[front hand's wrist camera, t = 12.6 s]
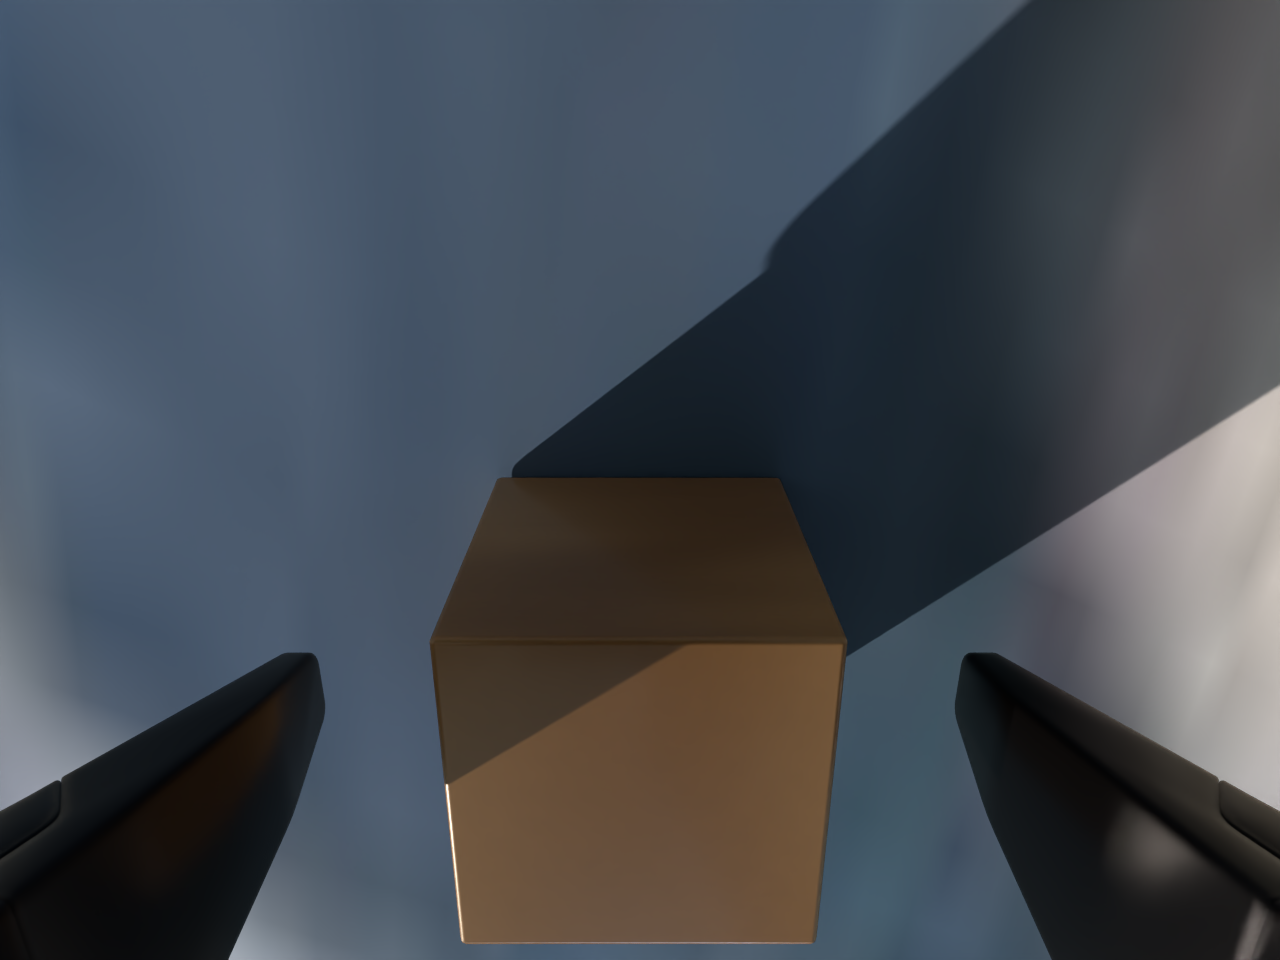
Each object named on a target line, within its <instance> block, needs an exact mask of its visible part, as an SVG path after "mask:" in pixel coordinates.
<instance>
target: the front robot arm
mask: <svg viewBox="0 0 1280 960" xmlns="http://www.w3.org/2000/svg"><path fill="white" fill-rule="evenodd" d="M324 715H325V700H324V694H323V688H322V681H321V675H320V669H319V664H318V660H317V658H316V656H315V655H314V654H312V653H284V654H281V655H280V656H278V657H276V658H274V659H272V660H271V661H269V662H267V663H265V664H264V665H262V666H260V667H258V668H256V669H255V670H253V671H251V672H249V673H247V674H246V675H244V676H242V677H240V678H239V679H237V680H235V681H233V682H231V683H230V684H228V685H226V686H224V687H222V688H221V689H219V690H217V691H215V692H214V693H212V694H210V695H208V696H206V697H205V698H203V699H201V700H199V701H197V702H196V703H194V704H192V705H190V706H189V707H187V708H185V709H183V710H181V711H180V712H178V713H176V714H174V715H172V716H171V717H169V718H167V719H165V720H164V721H162V722H160V723H158V724H156V725H155V726H153V727H151V728H149V729H147V730H146V731H144V732H142V733H140V734H139V735H137V736H135V737H133V738H131V739H130V740H128V741H126V742H124V743H122V744H121V745H119V746H117V747H115V748H114V749H112V750H110V751H108V752H106V753H105V754H103V755H101V756H99V757H97V758H96V759H94V760H92V761H90V762H89V763H87V764H85V765H83V766H81V767H80V768H78V769H76V770H74V771H72V772H71V773H69V774H67V775H65V776H64V777H62V779H61V782H60V781H54V782H53V783H51V784H49V785H47V786H45V787H44V788H42V789H40V790H38V791H37V792H35V793H33V794H31V795H30V796H28V797H26V798H24V799H22V800H20V801H18V802H17V803H15V804H13V805H11V806H9V807H7V808H5V809H4V810H2V811H0V960H228V959H229V957H230V954H231V952H232V950H233V948H234V946H235V943H236V941H237V939H238V937H239V934H240V932H241V930H242V928H243V926H244V923H245V921H246V919H247V917H248V915H249V912H250V910H251V908H252V906H253V903H254V901H255V899H256V897H257V895H258V892H259V890H260V888H261V886H262V884H263V881H264V879H265V877H266V875H267V872H268V870H269V868H270V866H271V864H272V861H273V859H274V857H275V855H276V852H277V850H278V848H279V846H280V844H281V841H282V839H283V837H284V835H285V833H286V830H287V828H288V825H289V823H290V821H291V818H292V816H293V813H294V810H295V807H296V805H297V802H298V799H299V796H300V792H301V789H302V786H303V783H304V780H305V777H306V774H307V770H308V767H309V764H310V761H311V758H312V755H313V751H314V748H315V745H316V742H317V739H318V736H319V733H320V729H321V726H322V723H323V720H324ZM955 715H956V720H957V723H958V726H959V729H960V733H961V736H962V739H963V742H964V745H965V748H966V751H967V755H968V758H969V761H970V764H971V767H972V770H973V774H974V777H975V780H976V783H977V786H978V789H979V792H980V796H981V799H982V802H983V805H984V807H985V810H986V813H987V816H988V818H989V821H990V823H991V825H992V828H993V830H994V833H995V835H996V837H997V839H998V841H999V844H1000V846H1001V848H1002V850H1003V852H1004V855H1005V857H1006V859H1007V861H1008V864H1009V866H1010V868H1011V870H1012V872H1013V875H1014V877H1015V879H1016V881H1017V884H1018V886H1019V888H1020V890H1021V892H1022V895H1023V897H1024V899H1025V901H1026V903H1027V906H1028V908H1029V910H1030V912H1031V915H1032V917H1033V919H1034V921H1035V923H1036V926H1037V928H1038V930H1039V932H1040V934H1041V937H1042V939H1043V941H1044V943H1045V946H1046V948H1047V950H1048V952H1049V954H1050V957H1051V959H1052V960H1280V811H1278V810H1276V809H1275V808H1273V807H1271V806H1269V805H1267V804H1265V803H1263V802H1262V801H1260V800H1258V799H1256V798H1254V797H1252V796H1250V795H1249V794H1247V793H1245V792H1243V791H1242V790H1240V789H1238V788H1236V787H1235V786H1233V785H1231V784H1229V783H1227V782H1226V781H1220V782H1219V779H1218V777H1216V776H1215V775H1213V774H1211V773H1209V772H1208V771H1206V770H1204V769H1202V768H1200V767H1199V766H1197V765H1195V764H1193V763H1191V762H1190V761H1188V760H1186V759H1184V758H1183V757H1181V756H1179V755H1177V754H1175V753H1174V752H1172V751H1170V750H1168V749H1166V748H1165V747H1163V746H1161V745H1159V744H1158V743H1156V742H1154V741H1152V740H1150V739H1149V738H1147V737H1145V736H1143V735H1141V734H1140V733H1138V732H1136V731H1134V730H1133V729H1131V728H1129V727H1127V726H1125V725H1124V724H1122V723H1120V722H1118V721H1116V720H1115V719H1113V718H1111V717H1109V716H1108V715H1106V714H1104V713H1102V712H1100V711H1099V710H1097V709H1095V708H1093V707H1091V706H1090V705H1088V704H1086V703H1084V702H1083V701H1081V700H1079V699H1077V698H1075V697H1074V696H1072V695H1070V694H1068V693H1066V692H1065V691H1063V690H1061V689H1059V688H1058V687H1056V686H1054V685H1052V684H1050V683H1049V682H1047V681H1045V680H1043V679H1041V678H1040V677H1038V676H1036V675H1034V674H1033V673H1031V672H1029V671H1027V670H1025V669H1024V668H1022V667H1020V666H1018V665H1016V664H1015V663H1013V662H1011V661H1009V660H1008V659H1006V658H1004V657H1002V656H1000V655H999V654H996V653H968V654H966V655H965V656H964V658H963V660H962V664H961V669H960V675H959V681H958V688H957V694H956V700H955Z"/></svg>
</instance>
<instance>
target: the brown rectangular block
mask: <svg viewBox="0 0 1280 960" xmlns="http://www.w3.org/2000/svg"><path fill="white" fill-rule="evenodd" d="M430 650H431V660H432V669H433V679H434V688H435V698H436V707H437V717H438V727H439V736H440V746H441V755H442V765H443V774H444V784H445V793H446V803H447V812H448V822H449V831H450V841H451V850H452V860H453V869H454V879H455V889H456V898H457V908H458V917H459V927H460V936H461V940H462V942H463V943H466V944H811V943H814V942H815V940H816V937H817V927H818V918H819V908H820V899H821V889H822V880H823V870H824V861H825V851H826V842H827V832H828V823H829V813H830V804H831V794H832V785H833V775H834V766H835V756H836V747H837V737H838V728H839V718H840V709H841V699H842V689H843V680H844V670H845V661H846V651H847V639H846V636H845V634H844V631H843V629H842V627H841V624H840V622H839V619H838V617H837V615H836V612H835V610H834V607H833V605H832V603H831V600H830V598H829V595H828V593H827V591H826V588H825V586H824V584H823V581H822V579H821V576H820V574H819V572H818V569H817V567H816V564H815V562H814V560H813V557H812V555H811V552H810V550H809V548H808V545H807V543H806V540H805V538H804V536H803V533H802V531H801V528H800V526H799V524H798V521H797V519H796V516H795V514H794V512H793V509H792V507H791V504H790V502H789V500H788V497H787V495H786V492H785V490H784V488H783V485H782V483H781V480H780V479H778V478H499V479H497V481H496V484H495V486H494V489H493V491H492V493H491V496H490V498H489V501H488V503H487V505H486V508H485V510H484V512H483V515H482V517H481V520H480V522H479V524H478V527H477V529H476V532H475V534H474V536H473V539H472V541H471V543H470V546H469V548H468V551H467V553H466V555H465V558H464V560H463V563H462V565H461V567H460V570H459V572H458V575H457V577H456V579H455V582H454V584H453V586H452V589H451V591H450V594H449V596H448V598H447V601H446V603H445V606H444V608H443V610H442V613H441V615H440V617H439V620H438V622H437V625H436V627H435V629H434V632H433V634H432V637H431V639H430Z"/></svg>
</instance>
